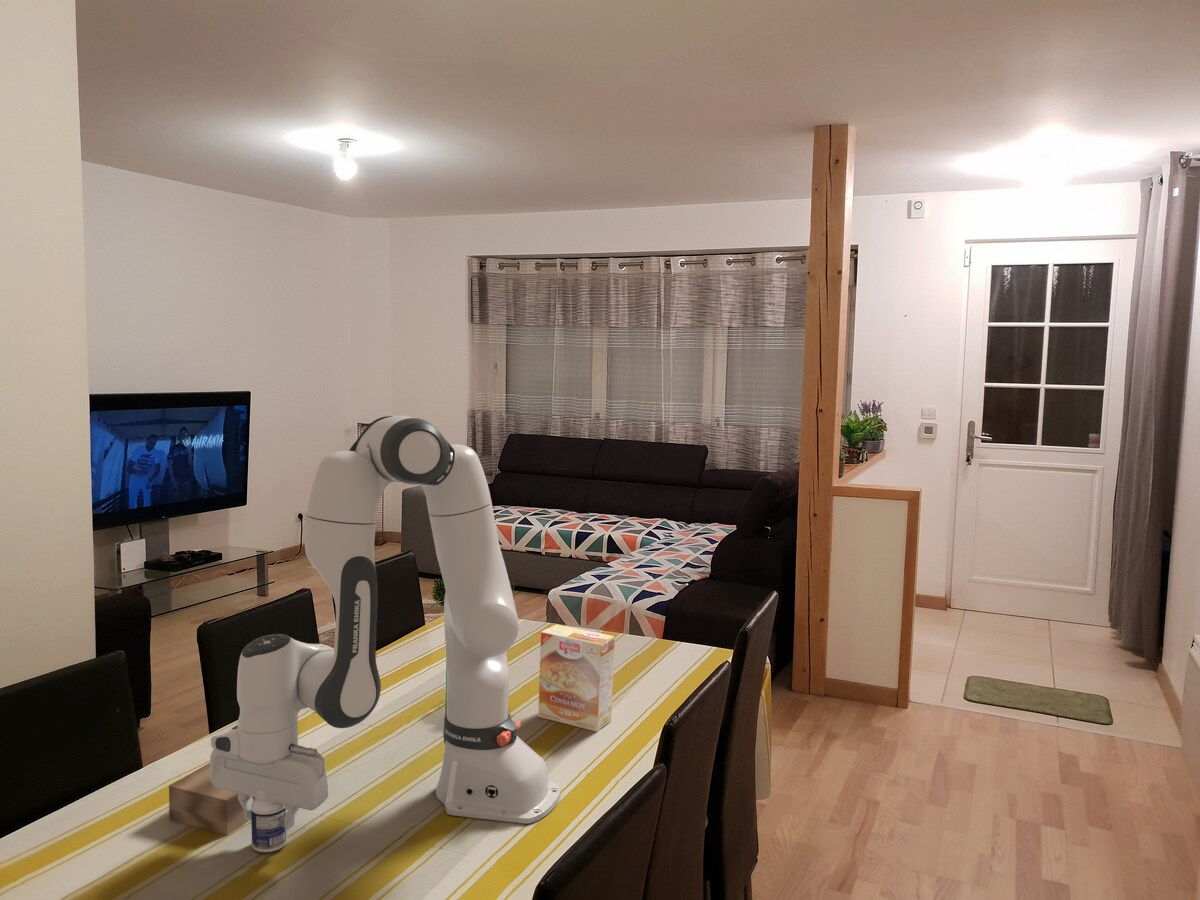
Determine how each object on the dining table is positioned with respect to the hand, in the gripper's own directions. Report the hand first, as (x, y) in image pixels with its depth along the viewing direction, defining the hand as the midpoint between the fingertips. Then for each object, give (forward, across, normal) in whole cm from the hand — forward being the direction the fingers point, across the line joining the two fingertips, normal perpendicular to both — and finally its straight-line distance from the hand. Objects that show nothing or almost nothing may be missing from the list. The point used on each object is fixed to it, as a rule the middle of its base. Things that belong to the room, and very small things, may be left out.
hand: (269, 822), depth 140 cm
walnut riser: (+4, +14, -6) cm, 16 cm away
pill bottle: (+4, 0, 0) cm, 4 cm away
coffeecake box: (+5, -27, -66) cm, 71 cm away
